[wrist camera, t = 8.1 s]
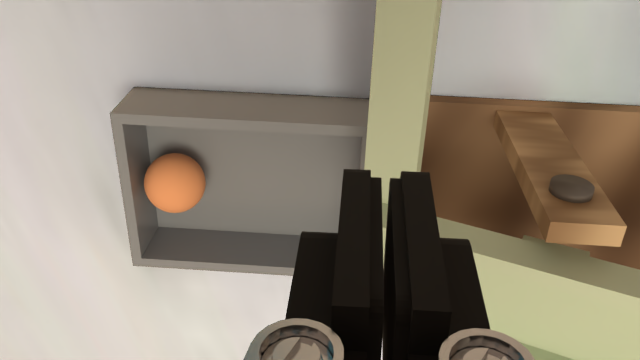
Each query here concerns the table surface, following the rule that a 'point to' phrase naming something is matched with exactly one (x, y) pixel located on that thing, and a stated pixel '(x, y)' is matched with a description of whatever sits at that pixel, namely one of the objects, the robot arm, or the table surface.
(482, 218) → the stand
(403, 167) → the lever
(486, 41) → the table surface
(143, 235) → the dish
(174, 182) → the ball
